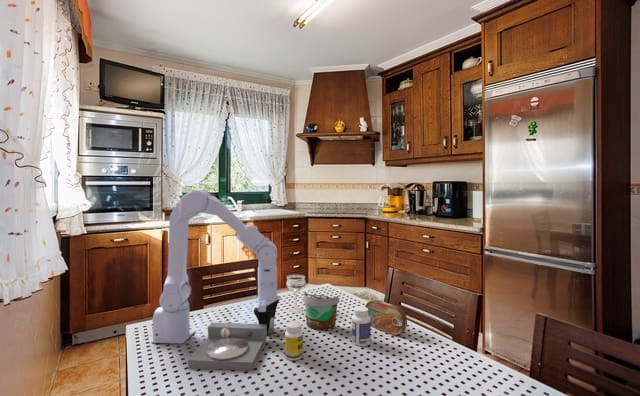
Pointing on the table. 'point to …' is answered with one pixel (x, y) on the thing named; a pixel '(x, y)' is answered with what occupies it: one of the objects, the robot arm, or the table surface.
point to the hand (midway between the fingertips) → (267, 326)
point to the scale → (217, 331)
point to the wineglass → (295, 288)
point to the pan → (227, 349)
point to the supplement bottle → (294, 341)
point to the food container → (320, 311)
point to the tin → (386, 317)
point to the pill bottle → (361, 326)
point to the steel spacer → (271, 327)
